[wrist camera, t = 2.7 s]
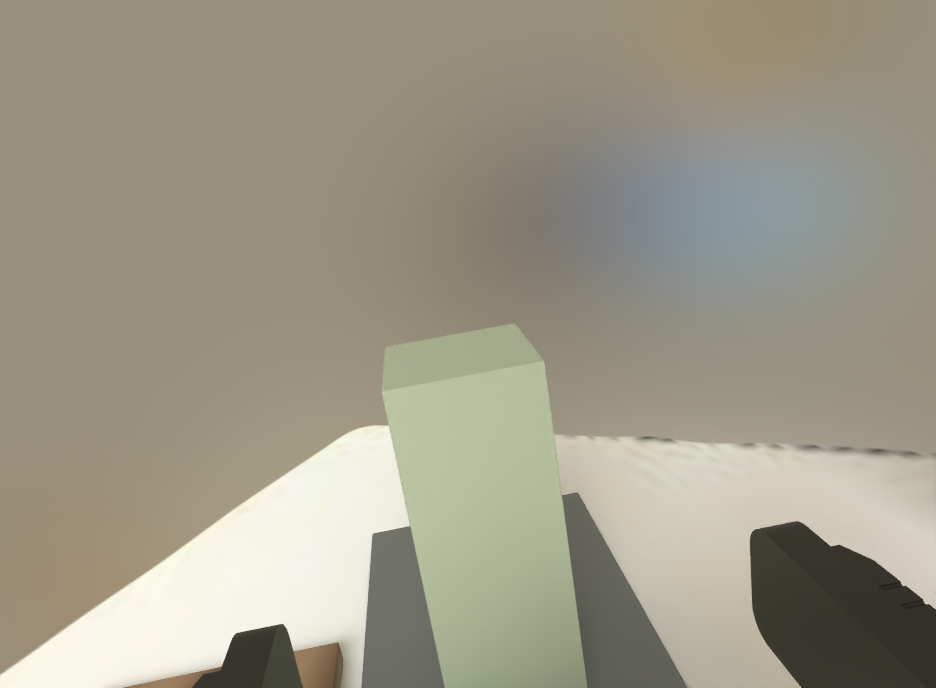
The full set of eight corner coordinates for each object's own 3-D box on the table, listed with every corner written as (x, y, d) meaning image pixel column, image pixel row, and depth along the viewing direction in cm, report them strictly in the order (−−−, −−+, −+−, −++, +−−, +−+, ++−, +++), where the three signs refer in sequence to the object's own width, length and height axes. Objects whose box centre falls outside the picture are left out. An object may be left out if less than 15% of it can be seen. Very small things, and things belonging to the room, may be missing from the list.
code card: (577, 493, 39) (577, 491, 39) (705, 721, 23) (705, 718, 23) (373, 535, 38) (372, 533, 38) (353, 801, 22) (353, 798, 22)
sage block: (554, 600, 30) (514, 323, 26) (588, 691, 25) (543, 361, 21) (442, 624, 30) (385, 347, 26) (451, 722, 24) (381, 391, 21)
